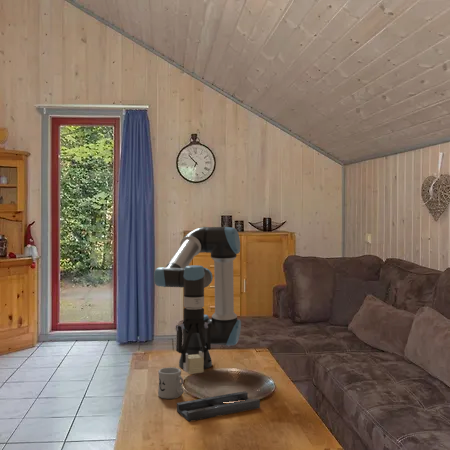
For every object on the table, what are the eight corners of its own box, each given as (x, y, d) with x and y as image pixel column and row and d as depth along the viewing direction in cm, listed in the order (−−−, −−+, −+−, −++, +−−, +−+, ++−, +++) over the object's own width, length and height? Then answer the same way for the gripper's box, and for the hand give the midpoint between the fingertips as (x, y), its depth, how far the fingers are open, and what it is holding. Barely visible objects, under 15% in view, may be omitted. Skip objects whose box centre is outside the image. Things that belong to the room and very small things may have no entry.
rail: (176, 411, 205) (176, 403, 205) (245, 398, 218) (245, 391, 218) (189, 421, 195) (189, 413, 195) (259, 408, 208) (259, 399, 208)
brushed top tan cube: (183, 370, 210) (183, 355, 210) (197, 368, 213) (197, 354, 213) (189, 374, 205) (189, 358, 205) (203, 372, 208) (203, 357, 208)
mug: (153, 395, 221) (153, 370, 221) (170, 390, 228) (170, 365, 227) (174, 403, 213) (174, 377, 212) (191, 397, 219) (192, 372, 219)
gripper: (174, 311, 201) (173, 375, 202) (220, 307, 209) (220, 369, 210) (166, 307, 208) (166, 370, 208) (212, 304, 216) (211, 364, 217)
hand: (193, 370), depth 209 cm, fingers closed on brushed top tan cube, 5 cm apart
